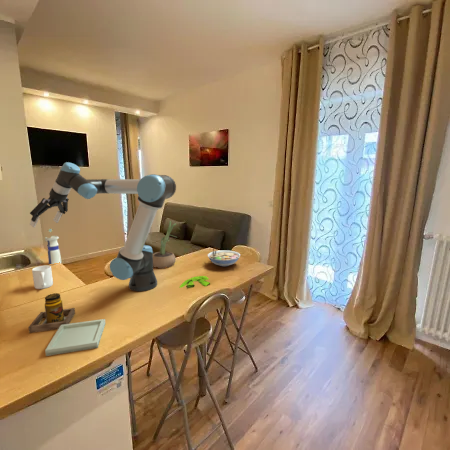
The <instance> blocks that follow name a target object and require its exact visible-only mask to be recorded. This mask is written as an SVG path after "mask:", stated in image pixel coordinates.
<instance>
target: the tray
mask: <svg viewBox="0 0 450 450" xmlns="http://www.w3.org/2000/svg"><path fill="white" fill-rule="evenodd" d="M105 327H106V319H105V318H104V319H103V318H102V319H94V320H87V321H80V322H72V323H71V322H70V323H69V324H63V325H61V326H60V327H59V329H57V330H56V332H55V334H54V335H53V337H52V338H51V340H50V342H49V343H48V345H47V347H46V348H45V350H44V351H45V352H44V353H45V356H46V357H48V356H49V357H51V356H55V355H60V354H61V355H62V354H68V353H73V352H74V353H76V352H80V351H87V350H92V349H98V348H99V345H100V343H101V339H102V336H103V332H104V330H105Z"/></svg>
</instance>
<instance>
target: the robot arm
mask: <svg viewBox="0 0 450 450" xmlns="http://www.w3.org/2000/svg"><path fill="white" fill-rule="evenodd" d="M80 172H81V169H80V167H79V166H78V165H77V164H75V163H72V162H69V161H68V162H67V161H66V162H64V163H63V165H62V166H61V168H60V170H59V172H58V175H57V177H56V179H55V181H54V183H53V184H52V188H51V189H50V190H49V193H48V195H49V197H48V198H47V199H46V197H43V198H42V199H41V201H40V202H39V203H38V204H37V205H36V206H35V207H33V209H32V210H31V211H30V212H29V214H30V215H31V216H32V217H31V219H30V222H29V226H31V227H32V228H36V225H37V223H38V221H39V219H40V216H41V215H42V214H44V213H45V212H46V211H47V210H49V209H52V208H54V207H57V209H58V210H57V211H56V213H55V215H54V216H53V219H52V221H54V222H55V223H56V224H57V223H59V221H60V220H61V218H62V216H63V215H65V214H66V213H67V212H69V211H68V209H69V208H68V207H69V206H68V204H69V198H68V195H69V194H70V192H71V190H73V191H75V192H76V193H77V194H78V195H80V196H81V197H82V198H84V199H86V200H91V199H92V198H94V197H95V196H96V195H97V194H113V195H114V194H119V195H120V194H122V195H123V194H124V195H126V194H127V195H128V194H129V195H137V202H138V203H139V204H138V206H137V209H136V213H135V215H134V218H133V221H132V224H131V225H130V229H129V232H128V235H127V238H126V241H125V243H124V246H122V247H120V249H119V250H118V253H117V256H116V257H115V258H113V259H112V260H111V261H110V263H109V270H110V272H111V274H112V275H113V276H114V277H115V278H116V279H118V280H119V281H125V280H128V279H129V282H128V289H129V290H131V291H133V292H147V291H149V290H152V289H155V288H156V287H157V286H158V279H157V277H156V274H155V272H154V266H153V254H154V251H153V248H152V246H150V245H146V244H145V243H146V241H147V238H148V237H149V234H150V231H151V229H152V225H153V223H154V220H155V217H156V215H157V213H158V210H160V209H162V208H163V205H164V203H165V200H167V199H170V198H171V197H173V196H174V195H175V193H176V191H177V183H176V181H175V180H174V179H173V178H172V177H171V176H169V175H165V174H148V175H145V176H143V177H141V178H139V179H138V178H135V179H133V178H128V179H127V178H126V179H125V178H124V179H121V178H119V179H118V178H116V179H115V178H111V179H110V178H109V179H107V178H102V179H100V178H99V179H89V178H88V179H87V178H85V177H83V176H82V175H81V174H80Z"/></svg>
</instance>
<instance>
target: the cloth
mask: <svg viewBox="0 0 450 450" xmlns="http://www.w3.org/2000/svg"><path fill="white" fill-rule="evenodd" d="M208 280H210V279H209V277H208V276H206V275H199V276H198V275H197V276H193V277H191V278H187V279H186V280H184V282H182V284H180V286H179V288H180V289H181V288H184V287H185V286H186V289H188V288H191V289H192V288H195V284H194V282H198V283H199V284H200V285H201V286H202V287H208V286H209V285H211V282H209V281H208Z"/></svg>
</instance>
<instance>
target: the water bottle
mask: <svg viewBox="0 0 450 450" xmlns="http://www.w3.org/2000/svg"><path fill="white" fill-rule="evenodd" d="M53 230H54V229H52V228H51V227H49V229H48V230H47V231H48V233H52V232H53ZM58 239H60V237H59V236H58V235H51V236H50V237H47V236H46V237H45V236H44V241H45V242H47V246H46V247H47V259H48V265H49V264H54V263H59V262H60V264H61V263H62V257H61V250H60V248H59V245H60V244H59V242H58Z"/></svg>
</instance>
